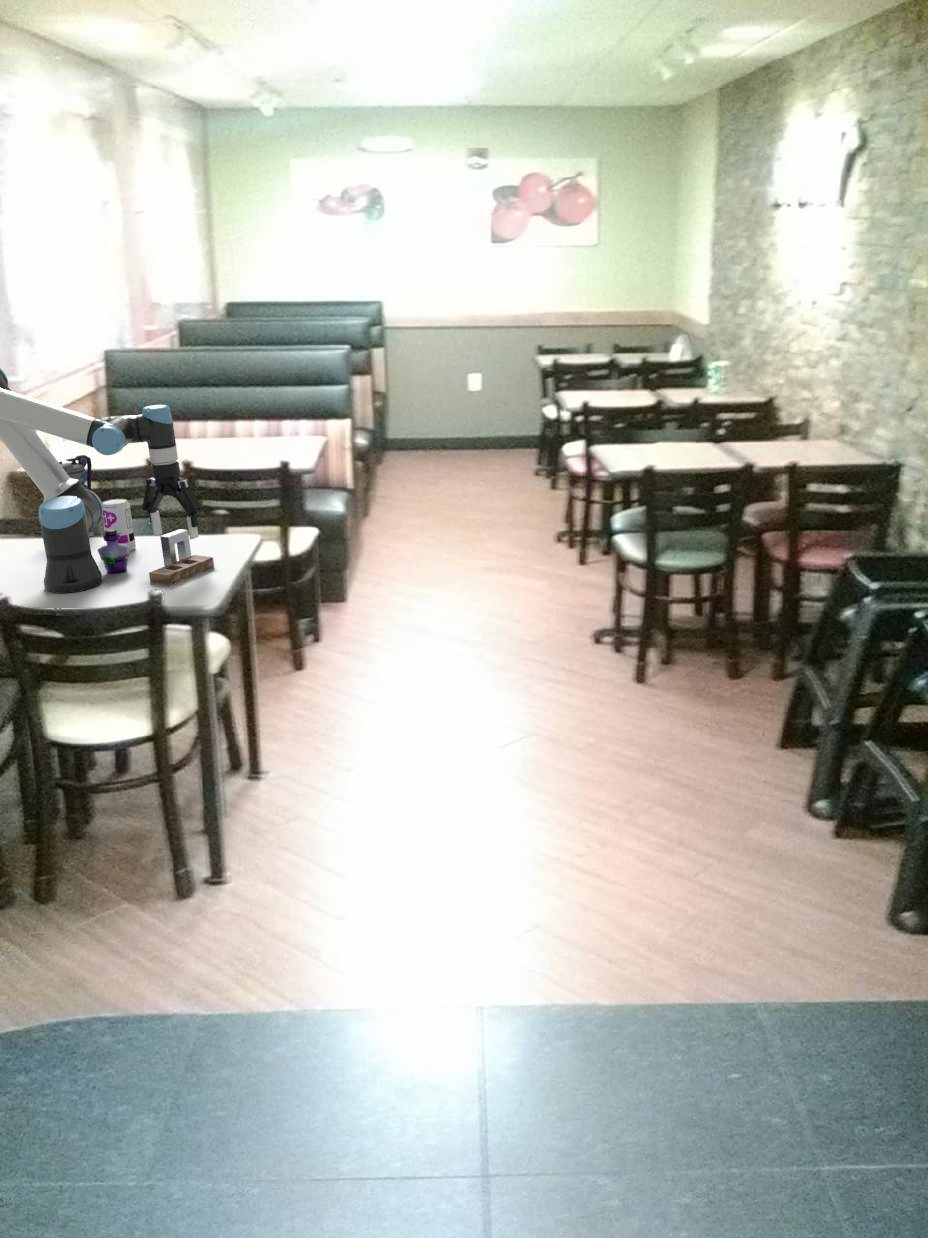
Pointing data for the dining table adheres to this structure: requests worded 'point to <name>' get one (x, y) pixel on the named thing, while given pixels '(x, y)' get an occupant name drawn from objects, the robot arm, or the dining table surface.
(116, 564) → the potion bottle
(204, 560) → the wooden socket base
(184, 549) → the clip
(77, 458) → the dark grey lidded pitcher
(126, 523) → the supplement can
